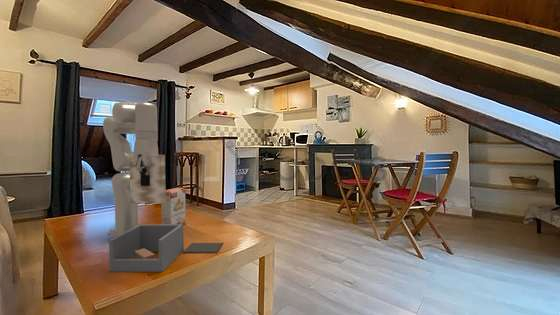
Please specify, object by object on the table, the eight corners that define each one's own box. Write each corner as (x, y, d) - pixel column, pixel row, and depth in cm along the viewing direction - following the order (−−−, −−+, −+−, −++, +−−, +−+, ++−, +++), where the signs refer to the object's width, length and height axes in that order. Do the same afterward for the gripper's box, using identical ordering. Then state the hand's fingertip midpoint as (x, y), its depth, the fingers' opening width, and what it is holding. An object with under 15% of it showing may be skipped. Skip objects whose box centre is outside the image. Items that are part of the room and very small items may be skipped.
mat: (183, 253, 107) (183, 251, 107) (191, 244, 117) (191, 242, 117) (217, 253, 106) (217, 251, 106) (223, 244, 116) (223, 242, 116)
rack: (109, 271, 91) (109, 240, 91) (140, 250, 110) (139, 224, 109) (162, 271, 90) (161, 240, 90) (183, 250, 109) (183, 224, 109)
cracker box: (171, 231, 136) (170, 191, 135) (161, 230, 137) (160, 191, 136) (186, 224, 149) (185, 187, 149) (177, 223, 150) (176, 187, 150)
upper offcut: (134, 257, 98) (134, 251, 98) (144, 254, 101) (144, 248, 100) (144, 264, 92) (144, 257, 92) (154, 261, 95) (154, 254, 95)
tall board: (130, 203, 98) (129, 155, 97) (135, 201, 101) (133, 155, 100) (162, 203, 98) (161, 155, 97) (165, 201, 101) (164, 154, 100)
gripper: (148, 137, 107) (149, 182, 107) (123, 135, 90) (124, 188, 91) (166, 137, 107) (167, 182, 107) (144, 135, 90) (146, 188, 91)
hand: (147, 184), depth 99 cm, fingers closed on tall board, 3 cm apart
